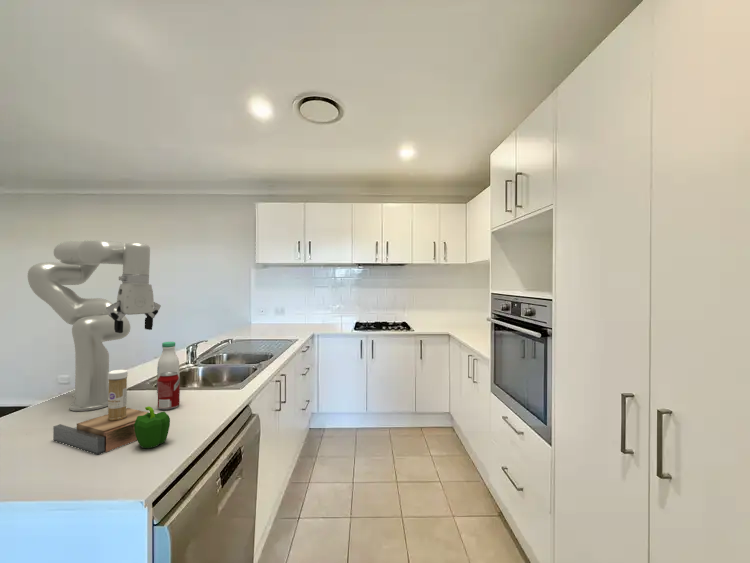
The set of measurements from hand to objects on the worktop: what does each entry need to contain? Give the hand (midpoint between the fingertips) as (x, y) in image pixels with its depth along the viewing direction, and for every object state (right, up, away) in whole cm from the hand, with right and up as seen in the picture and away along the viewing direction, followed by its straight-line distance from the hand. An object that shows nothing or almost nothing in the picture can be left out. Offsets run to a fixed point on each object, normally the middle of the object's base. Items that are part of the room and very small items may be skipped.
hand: (134, 330), depth 126 cm
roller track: (+5, -28, -18) cm, 33 cm away
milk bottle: (-1, -28, +23) cm, 36 cm away
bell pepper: (+20, -28, -24) cm, 42 cm away
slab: (+8, -25, -19) cm, 32 cm away
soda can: (+9, -28, +5) cm, 30 cm away
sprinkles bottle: (+8, -23, -19) cm, 31 cm away
